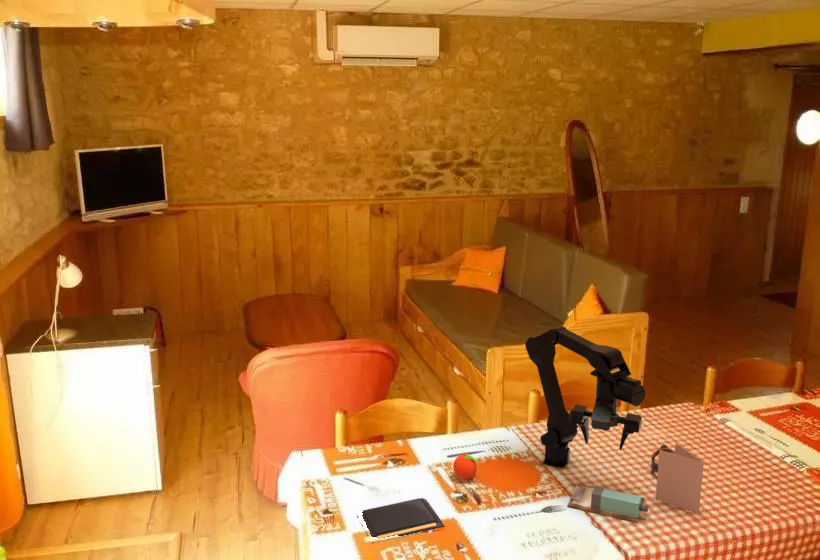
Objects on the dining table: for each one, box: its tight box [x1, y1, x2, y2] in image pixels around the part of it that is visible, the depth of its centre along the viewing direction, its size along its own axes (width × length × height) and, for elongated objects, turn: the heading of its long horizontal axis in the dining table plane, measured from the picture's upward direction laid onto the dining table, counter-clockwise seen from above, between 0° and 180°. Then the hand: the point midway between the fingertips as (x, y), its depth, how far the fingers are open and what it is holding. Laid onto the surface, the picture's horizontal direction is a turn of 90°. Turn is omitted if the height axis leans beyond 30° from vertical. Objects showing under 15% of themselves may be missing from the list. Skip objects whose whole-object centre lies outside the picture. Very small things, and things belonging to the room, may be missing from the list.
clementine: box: [452, 453, 481, 480], centre depth 205 cm, size 8×7×7 cm
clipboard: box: [567, 483, 645, 524], centre depth 192 cm, size 18×12×1 cm, turn 64°
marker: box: [591, 485, 649, 519], centre depth 187 cm, size 14×4×4 cm, turn 64°
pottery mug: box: [650, 444, 675, 474], centre depth 208 cm, size 12×10×8 cm
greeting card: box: [655, 442, 705, 515], centre depth 189 cm, size 11×7×15 cm, turn 17°
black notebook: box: [362, 497, 445, 539], centre depth 186 cm, size 20×2×15 cm
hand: (603, 446), depth 198 cm, fingers open, 9 cm apart
